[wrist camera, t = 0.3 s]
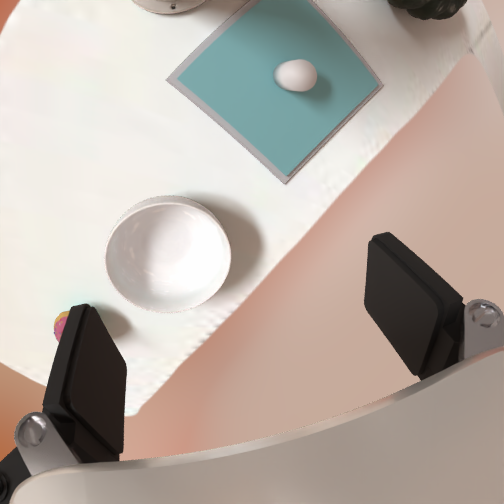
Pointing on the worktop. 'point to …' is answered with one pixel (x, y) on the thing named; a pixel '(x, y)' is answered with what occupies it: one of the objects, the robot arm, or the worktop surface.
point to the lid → (280, 79)
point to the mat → (225, 125)
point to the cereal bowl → (167, 254)
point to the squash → (429, 8)
